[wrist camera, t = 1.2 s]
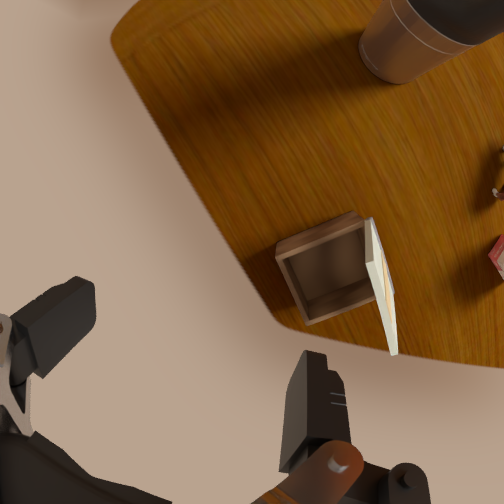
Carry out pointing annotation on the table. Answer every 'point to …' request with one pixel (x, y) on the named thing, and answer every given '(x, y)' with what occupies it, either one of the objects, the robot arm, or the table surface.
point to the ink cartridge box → (498, 255)
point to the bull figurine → (502, 195)
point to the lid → (381, 282)
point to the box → (327, 268)
